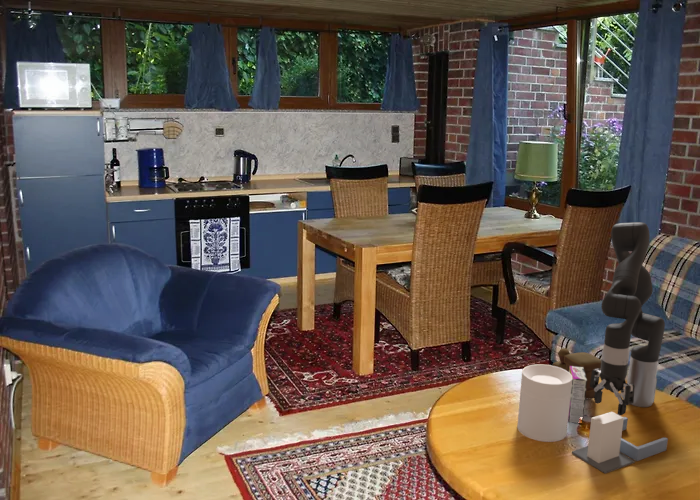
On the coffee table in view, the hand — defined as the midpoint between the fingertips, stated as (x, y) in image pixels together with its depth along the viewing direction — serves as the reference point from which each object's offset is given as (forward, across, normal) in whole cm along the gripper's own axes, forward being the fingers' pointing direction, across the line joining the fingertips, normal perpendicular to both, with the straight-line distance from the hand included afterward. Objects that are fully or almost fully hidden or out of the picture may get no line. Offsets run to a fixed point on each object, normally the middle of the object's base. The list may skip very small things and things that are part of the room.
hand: (609, 408), depth 209 cm
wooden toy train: (+17, -37, +25) cm, 48 cm away
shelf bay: (+17, -2, +15) cm, 22 cm away
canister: (+17, -22, -4) cm, 28 cm away
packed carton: (+16, 0, 0) cm, 16 cm away
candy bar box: (+17, -24, +13) cm, 32 cm away
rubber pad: (+17, 0, 0) cm, 17 cm away
